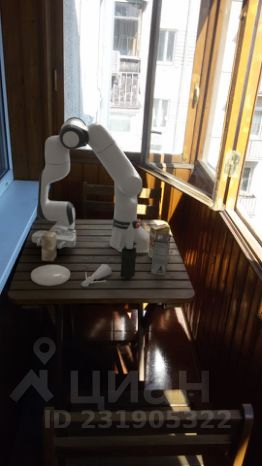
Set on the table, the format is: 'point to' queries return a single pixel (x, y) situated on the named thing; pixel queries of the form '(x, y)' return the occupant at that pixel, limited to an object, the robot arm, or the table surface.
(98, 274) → the woman figurine
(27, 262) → the table surface
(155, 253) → the coffee box
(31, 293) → the table surface
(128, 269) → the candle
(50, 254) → the maple block
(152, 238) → the candy box
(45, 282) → the plate
